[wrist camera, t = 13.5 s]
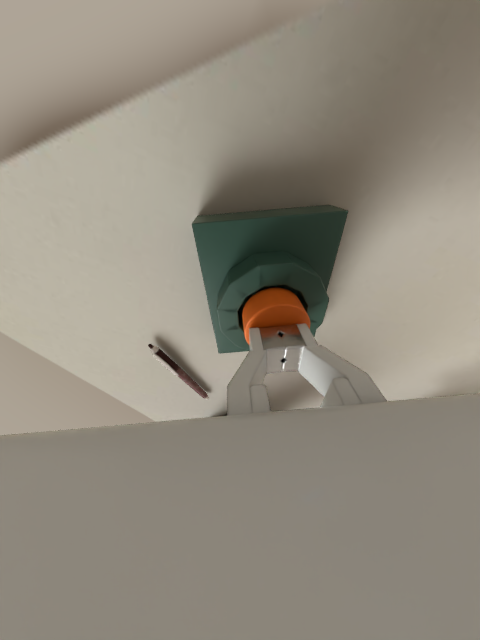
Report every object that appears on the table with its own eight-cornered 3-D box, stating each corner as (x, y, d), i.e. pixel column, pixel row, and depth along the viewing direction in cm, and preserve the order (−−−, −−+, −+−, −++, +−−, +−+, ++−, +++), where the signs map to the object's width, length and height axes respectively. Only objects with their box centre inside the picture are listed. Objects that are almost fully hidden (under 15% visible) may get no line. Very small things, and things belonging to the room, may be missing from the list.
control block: (197, 215, 11) (184, 232, 8) (329, 204, 11) (371, 217, 8) (219, 335, 17) (217, 371, 14) (303, 328, 17) (320, 362, 14)
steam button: (240, 289, 10) (242, 307, 9) (304, 284, 10) (317, 301, 9) (243, 336, 12) (245, 356, 11) (296, 331, 12) (305, 351, 11)
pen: (147, 342, 17) (143, 350, 16) (154, 339, 17) (150, 347, 16) (206, 397, 24) (205, 404, 23) (211, 395, 24) (211, 403, 23)
